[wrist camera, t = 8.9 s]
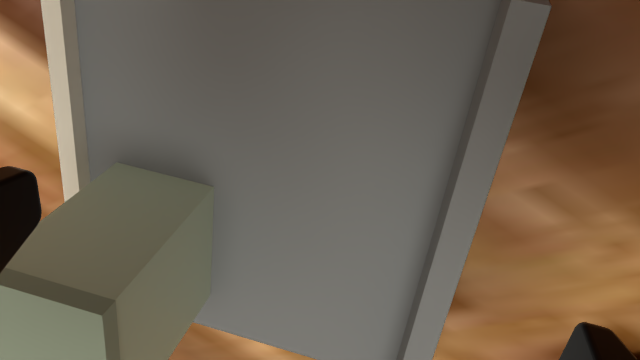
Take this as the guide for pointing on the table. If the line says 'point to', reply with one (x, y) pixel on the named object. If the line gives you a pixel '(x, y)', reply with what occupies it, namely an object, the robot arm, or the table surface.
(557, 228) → the table surface
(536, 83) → the table surface
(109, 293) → the tea tin
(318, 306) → the display board
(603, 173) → the table surface
